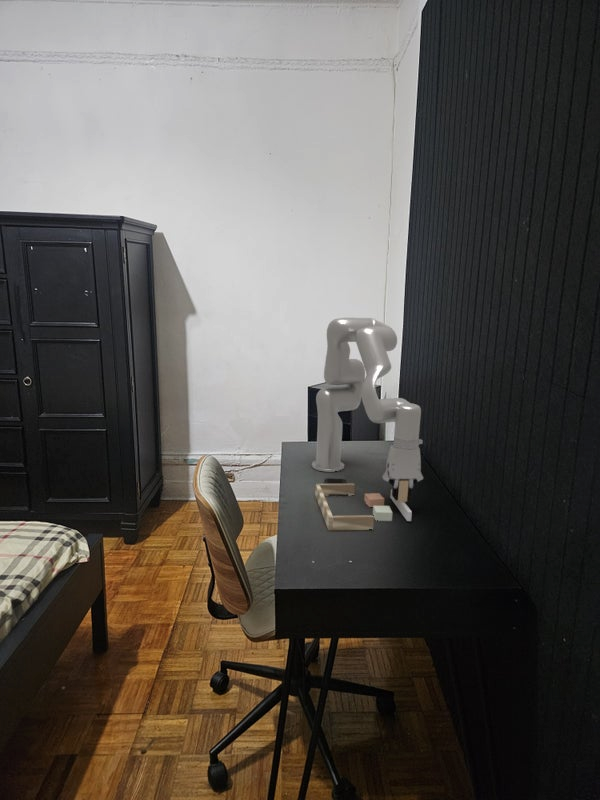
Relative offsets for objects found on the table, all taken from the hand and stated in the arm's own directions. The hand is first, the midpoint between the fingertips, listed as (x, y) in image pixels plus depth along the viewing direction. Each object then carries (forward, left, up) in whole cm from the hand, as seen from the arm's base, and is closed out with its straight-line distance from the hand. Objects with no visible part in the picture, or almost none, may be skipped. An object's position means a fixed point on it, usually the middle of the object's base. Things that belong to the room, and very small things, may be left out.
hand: (401, 498), depth 170 cm
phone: (-19, -17, -5) cm, 26 cm away
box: (0, -18, -4) cm, 19 cm away
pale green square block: (+5, -7, -4) cm, 10 cm away
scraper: (0, 0, -4) cm, 4 cm away
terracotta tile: (-5, -7, -4) cm, 10 cm away
